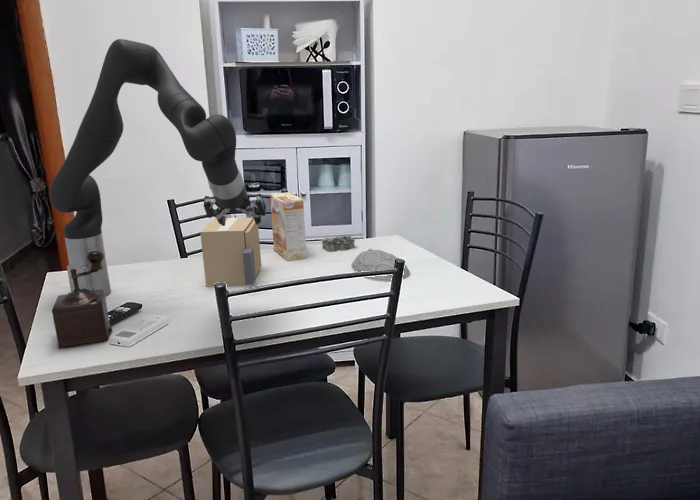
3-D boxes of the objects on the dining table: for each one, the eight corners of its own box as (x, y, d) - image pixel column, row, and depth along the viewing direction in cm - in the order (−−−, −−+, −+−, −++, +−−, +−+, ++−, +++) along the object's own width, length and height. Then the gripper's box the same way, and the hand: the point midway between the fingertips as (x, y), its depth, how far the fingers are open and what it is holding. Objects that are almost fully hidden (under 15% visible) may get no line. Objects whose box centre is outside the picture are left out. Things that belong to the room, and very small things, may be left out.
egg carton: (326, 253, 196) (326, 241, 195) (320, 247, 203) (319, 236, 201) (356, 249, 199) (356, 237, 198) (349, 243, 206) (349, 232, 205)
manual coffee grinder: (111, 341, 133) (99, 265, 128) (57, 349, 130) (43, 272, 125) (114, 316, 147) (104, 247, 142) (66, 323, 144) (53, 253, 139)
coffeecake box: (273, 250, 201) (269, 193, 195) (293, 247, 203) (289, 191, 198) (286, 261, 187) (282, 201, 182) (307, 258, 190) (304, 199, 185)
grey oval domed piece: (377, 285, 163) (378, 261, 161) (338, 266, 184) (339, 245, 183) (424, 280, 170) (425, 258, 168) (381, 263, 191) (382, 242, 190)
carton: (218, 268, 182) (213, 218, 177) (257, 267, 182) (253, 217, 177) (206, 286, 167) (200, 231, 162) (248, 285, 166) (243, 230, 162)
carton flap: (258, 266, 182) (254, 219, 177) (264, 266, 182) (260, 219, 177) (245, 289, 161) (241, 237, 157) (253, 289, 161) (248, 237, 157)
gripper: (258, 170, 135) (269, 208, 150) (197, 172, 136) (213, 210, 150) (257, 197, 132) (268, 234, 146) (194, 199, 132) (211, 236, 146)
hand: (240, 222), depth 148 cm, fingers open, 8 cm apart
